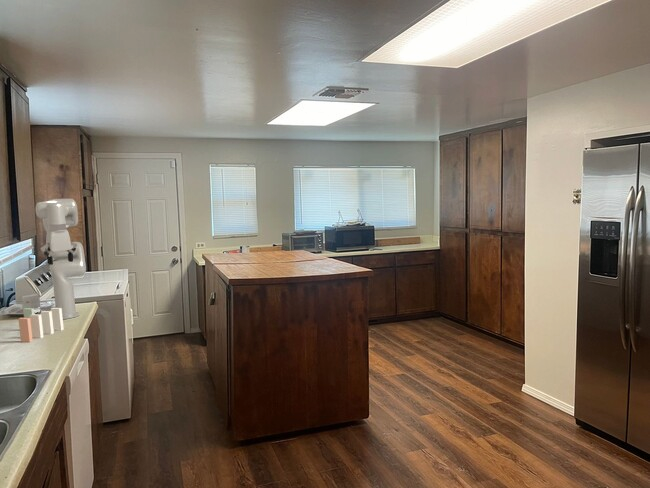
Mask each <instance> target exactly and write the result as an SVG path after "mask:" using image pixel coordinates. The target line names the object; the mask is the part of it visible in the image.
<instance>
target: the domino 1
mask: <svg viewBox="0 0 650 488" xmlns="http://www.w3.org/2000/svg"><path fill="white" fill-rule="evenodd" d="M23 311H24V314H23V318H30V315H32V314H35V312H34V308H25V309H23V308H22V312H23Z"/></svg>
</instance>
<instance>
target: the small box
mask: <svg viewBox="0 0 650 488" xmlns="http://www.w3.org/2000/svg"><path fill="white" fill-rule="evenodd" d="M20 298H21V306H22V310H23V309H25V308H38V307H41V300H40V299H41V298H40V295H39V294H38V293H33V294H27V295H22V296H20Z"/></svg>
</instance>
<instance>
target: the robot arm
mask: <svg viewBox="0 0 650 488" xmlns="http://www.w3.org/2000/svg"><path fill="white" fill-rule="evenodd" d="M78 211H79V210H78V205H77V202H76V200H75V199H73V198H53V199H50V200H47V201H45V200H44V201H39V202H37V203H36V205H35V215H36V216H37V217H38V218H39V219H42V224H43V228H44V230H45V232H46V239H45V240H46V241H45V244H44V245H43V246H42V247H40V251H41V252H42V254H43V255H44V256H45V257H46V259H47V264H48V266H49V272H50V275H51V279H52V285H53V286H52V287H53V296H54V304H55V308H62V318H63V320H68V319H74V318H76V317H79V316H80V312H78V311H76V302H75V301H76V300H75V299H76V298H75V290H74V284H73V282H72V281H71V280H70V279H69V278H71V277H79V276H83V275H85V274H86V271H87V265H86V257H85V250H84V246H83V244H82V243H81V242H80V241H72V240H71V237H70V233H69V231H68V230H67V229H68V228H69V227H75V226H77V225H78V223H79V213H78ZM53 259H54V261H53Z"/></svg>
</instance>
